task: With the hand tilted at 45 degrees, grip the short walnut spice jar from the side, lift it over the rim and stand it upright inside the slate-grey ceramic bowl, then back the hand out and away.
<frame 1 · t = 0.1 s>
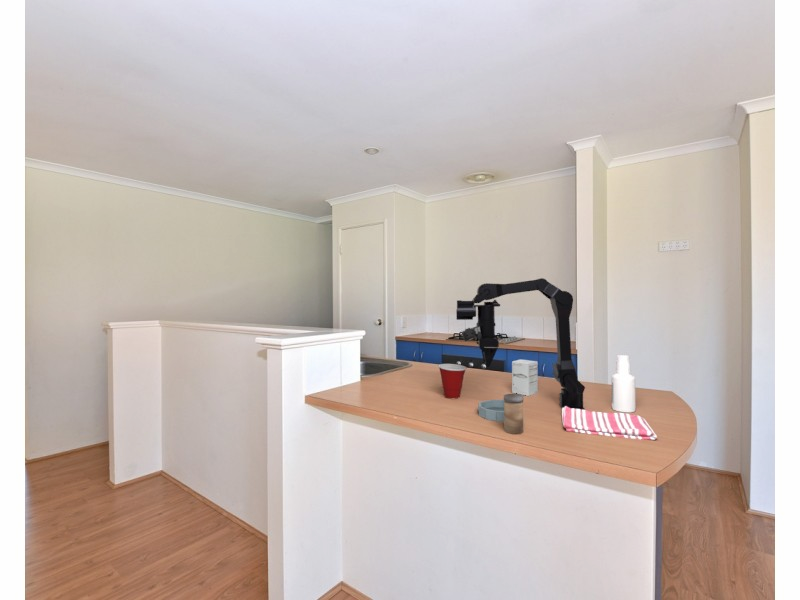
hand: (486, 364, 136), 15 cm above the table, tool pointing down, fingers open, 9 cm apart
walnut jar: (513, 431, 112), on the table
spray bottle: (623, 410, 130), on the table
dish towel: (605, 428, 115), on the table
supplement box: (524, 393, 153), on the table
plastic cup: (452, 397, 150), on the table
bowl: (500, 414, 127), on the table
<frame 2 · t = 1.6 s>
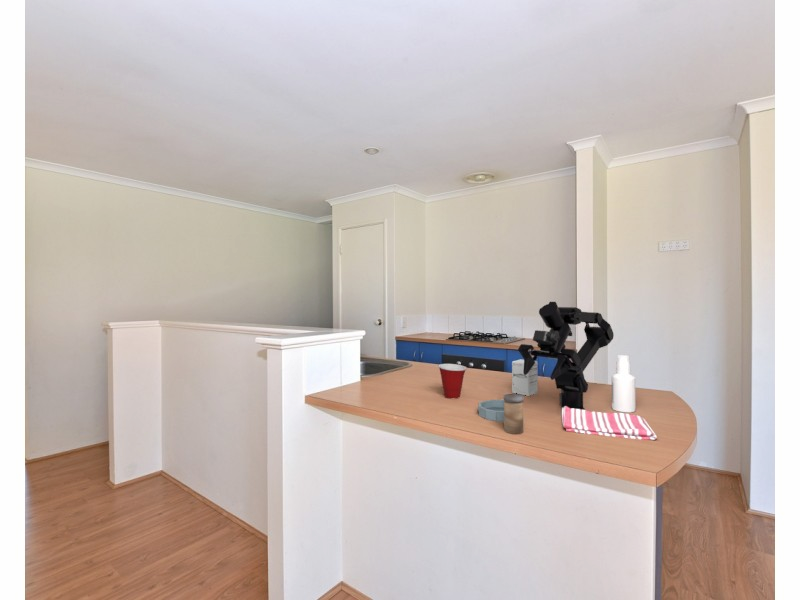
hand: (537, 376, 120), 14 cm above the table, tool tilted 45°, fingers open, 9 cm apart
nothing on the table moved.
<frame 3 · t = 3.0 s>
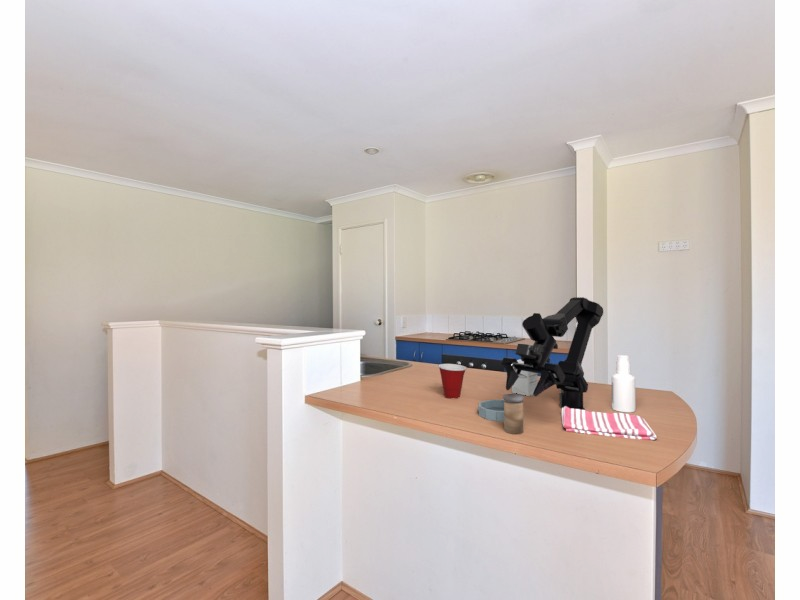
hand: (520, 392, 114), 11 cm above the table, tool tilted 45°, fingers open, 9 cm apart
nothing on the table moved.
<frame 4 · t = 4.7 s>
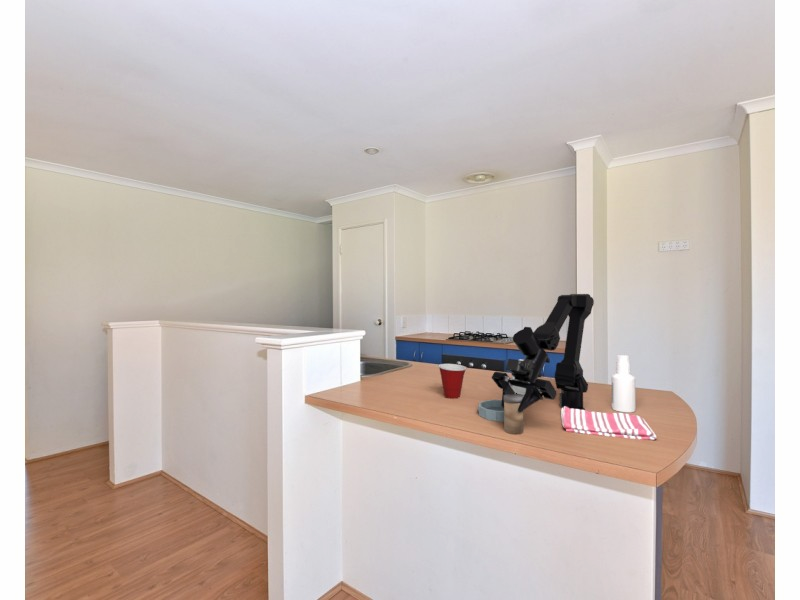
hand: (510, 409, 111), 7 cm above the table, tool tilted 45°, fingers closed on walnut jar, 5 cm apart
walnut jar: (513, 431, 112), on the table, touching gripper
everything else where it was.
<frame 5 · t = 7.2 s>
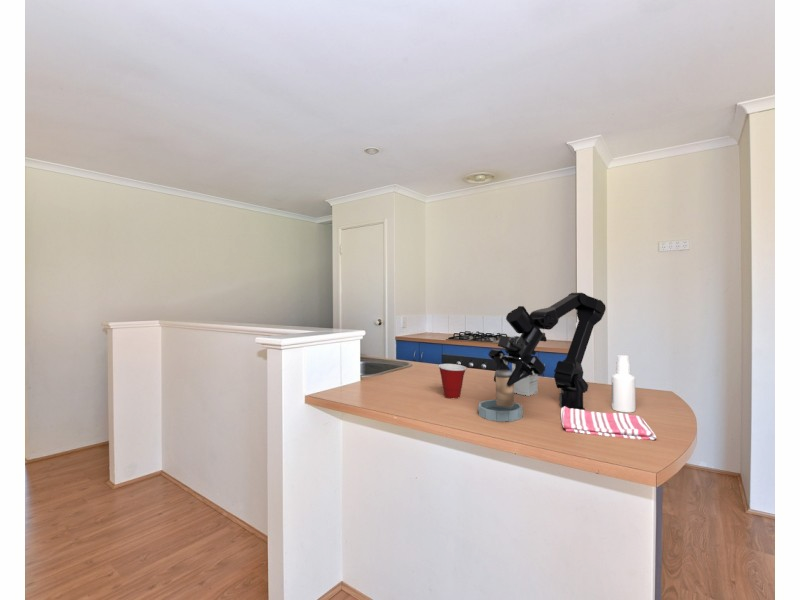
hand: (501, 383, 117), 13 cm above the table, tool tilted 45°, fingers closed on walnut jar, 5 cm apart
walnut jar: (505, 404, 118), point 6 cm above the table, touching gripper
everything else where it was.
when the fingers open (9 cm above the table, at t = 9.5 s): walnut jar drops 1 cm, resting on bowl.
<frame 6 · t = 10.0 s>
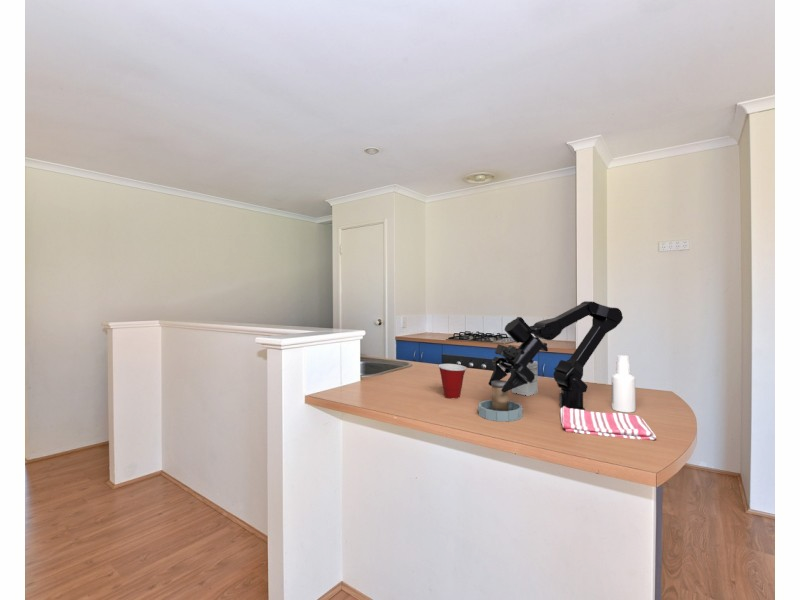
hand: (495, 388, 127), 9 cm above the table, tool tilted 45°, fingers open, 9 cm apart
walnut jar: (500, 412, 127), point 1 cm above the table, touching bowl
everything else where it was.
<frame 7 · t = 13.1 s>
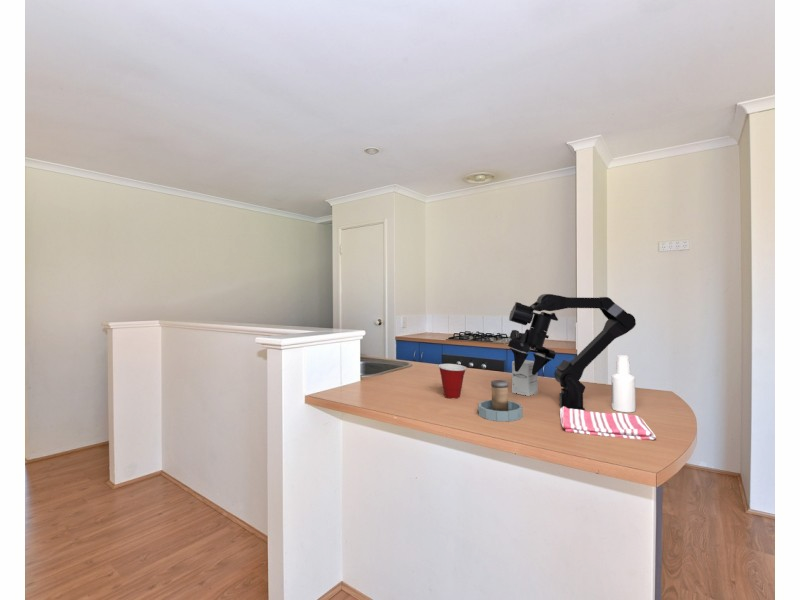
hand: (524, 373, 134), 12 cm above the table, tool tilted 20°, fingers open, 9 cm apart
nothing on the table moved.
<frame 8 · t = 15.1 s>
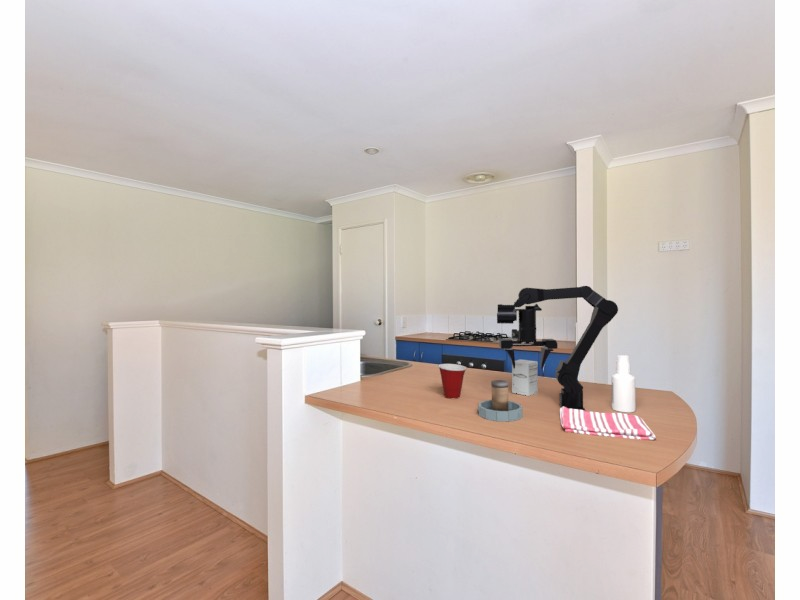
hand: (527, 368, 136), 13 cm above the table, tool pointing down, fingers open, 9 cm apart
nothing on the table moved.
at the end: walnut jar inside the target area on the bowl (0.1 cm from its centre), point 0.6 cm above the bowl's base; walnut jar tilted 0°; the gripper is holding nothing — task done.
